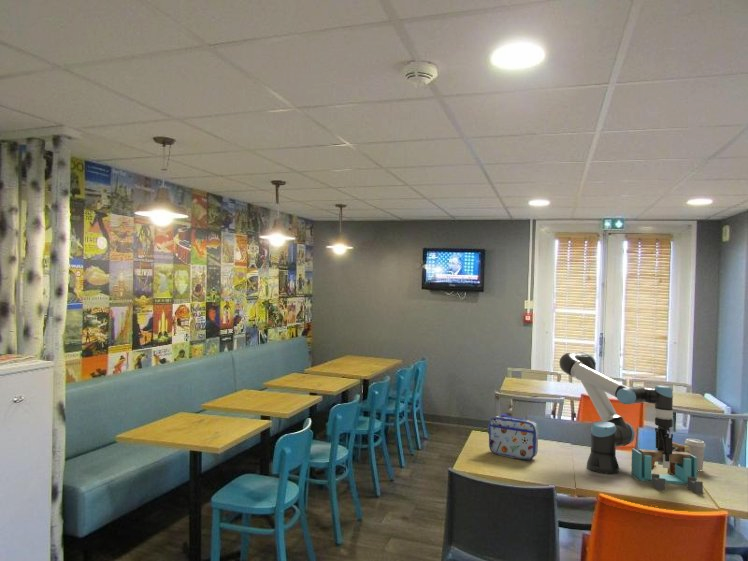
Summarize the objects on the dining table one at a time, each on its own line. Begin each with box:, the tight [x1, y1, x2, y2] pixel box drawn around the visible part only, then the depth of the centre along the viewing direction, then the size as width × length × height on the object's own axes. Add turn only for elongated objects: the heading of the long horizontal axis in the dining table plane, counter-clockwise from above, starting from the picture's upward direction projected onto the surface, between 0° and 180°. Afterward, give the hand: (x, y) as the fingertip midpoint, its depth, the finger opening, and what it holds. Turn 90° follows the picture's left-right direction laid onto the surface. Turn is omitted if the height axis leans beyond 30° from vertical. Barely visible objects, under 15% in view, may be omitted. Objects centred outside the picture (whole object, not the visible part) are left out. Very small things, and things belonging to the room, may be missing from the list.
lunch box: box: [486, 413, 539, 461], centre depth 271 cm, size 28×10×22 cm, turn 58°
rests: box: [651, 473, 704, 495], centre depth 228 cm, size 19×7×5 cm, turn 83°
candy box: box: [667, 441, 689, 475], centre depth 250 cm, size 9×4×15 cm, turn 26°
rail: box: [637, 448, 690, 464], centre depth 241 cm, size 22×4×4 cm, turn 83°
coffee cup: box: [684, 438, 707, 472], centre depth 261 cm, size 10×10×15 cm
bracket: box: [631, 447, 698, 486], centre depth 241 cm, size 26×9×13 cm, turn 83°
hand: (663, 466), depth 241 cm, fingers closed on rail, 4 cm apart
